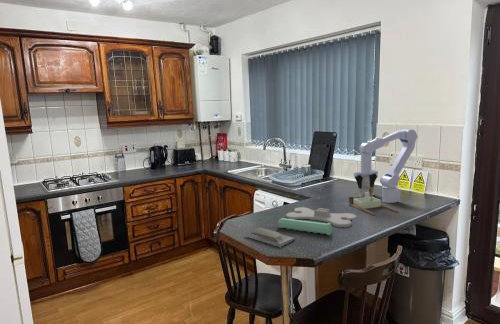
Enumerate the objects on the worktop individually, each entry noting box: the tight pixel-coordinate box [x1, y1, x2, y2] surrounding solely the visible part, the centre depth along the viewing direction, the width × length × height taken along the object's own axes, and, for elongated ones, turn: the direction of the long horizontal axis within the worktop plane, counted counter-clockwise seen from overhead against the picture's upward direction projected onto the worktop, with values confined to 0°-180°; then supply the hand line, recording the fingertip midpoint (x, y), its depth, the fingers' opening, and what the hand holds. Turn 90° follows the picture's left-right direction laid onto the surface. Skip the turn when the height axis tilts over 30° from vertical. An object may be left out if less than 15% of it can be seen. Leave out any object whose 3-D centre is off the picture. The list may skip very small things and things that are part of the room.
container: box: [277, 217, 333, 236], centre depth 154 cm, size 6×6×25 cm
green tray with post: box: [353, 192, 382, 210], centre depth 186 cm, size 12×8×8 cm, turn 106°
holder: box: [285, 206, 358, 228], centre depth 172 cm, size 19×34×5 cm, turn 57°
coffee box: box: [359, 169, 375, 197], centre depth 210 cm, size 9×6×16 cm
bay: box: [348, 194, 399, 217], centre depth 183 cm, size 15×24×6 cm, turn 16°
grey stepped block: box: [251, 227, 295, 245], centre depth 146 cm, size 10×20×4 cm, turn 47°
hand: (365, 187), depth 191 cm, fingers open, 7 cm apart
